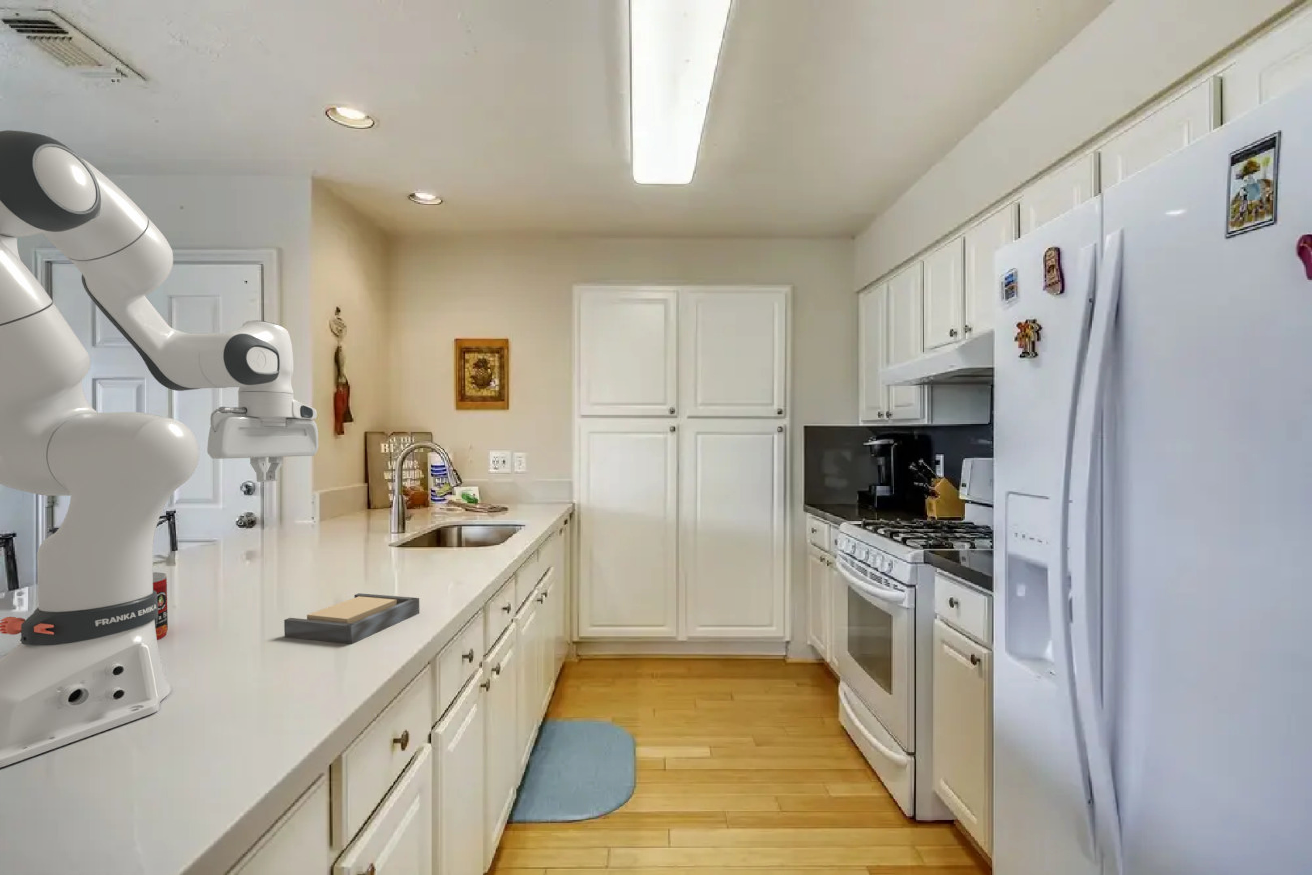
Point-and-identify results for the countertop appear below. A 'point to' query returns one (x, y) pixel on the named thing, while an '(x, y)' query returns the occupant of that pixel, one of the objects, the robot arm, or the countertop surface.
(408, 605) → the dark grey piece
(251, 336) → the robot arm
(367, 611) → the carton
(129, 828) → the countertop surface
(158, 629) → the canned food
